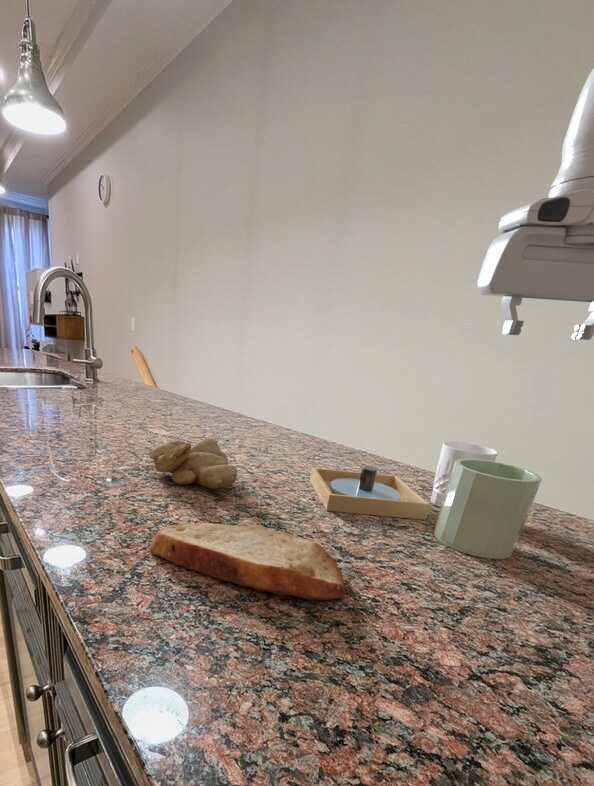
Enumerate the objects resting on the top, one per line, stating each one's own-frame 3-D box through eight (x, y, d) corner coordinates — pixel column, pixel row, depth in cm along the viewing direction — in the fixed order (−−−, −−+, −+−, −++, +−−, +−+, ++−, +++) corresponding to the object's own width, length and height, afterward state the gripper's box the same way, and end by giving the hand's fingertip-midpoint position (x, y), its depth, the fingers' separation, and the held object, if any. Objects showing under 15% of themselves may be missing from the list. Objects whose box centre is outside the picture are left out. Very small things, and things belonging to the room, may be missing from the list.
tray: (392, 489, 81) (396, 475, 80) (425, 520, 68) (430, 504, 67) (309, 481, 81) (312, 467, 80) (326, 510, 68) (329, 494, 67)
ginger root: (153, 453, 83) (165, 412, 80) (232, 483, 83) (248, 443, 80) (127, 481, 69) (139, 433, 66) (222, 517, 69) (240, 471, 66)
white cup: (487, 516, 72) (509, 456, 68) (439, 512, 71) (458, 451, 68) (462, 499, 79) (480, 443, 75) (418, 495, 79) (434, 439, 75)
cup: (487, 530, 66) (511, 462, 62) (528, 562, 57) (560, 484, 53) (422, 524, 66) (442, 455, 62) (453, 555, 57) (479, 477, 53)
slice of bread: (142, 540, 53) (143, 511, 52) (272, 526, 60) (276, 500, 59) (198, 632, 38) (202, 594, 37) (363, 599, 45) (371, 567, 44)
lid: (385, 487, 79) (392, 462, 77) (410, 511, 69) (418, 482, 67) (323, 481, 79) (328, 456, 77) (338, 504, 69) (344, 475, 67)
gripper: (647, 227, 57) (604, 341, 63) (488, 216, 57) (458, 332, 63) (695, 215, 51) (643, 343, 57) (518, 203, 52) (483, 332, 57)
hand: (545, 337), depth 60 cm, fingers open, 8 cm apart
